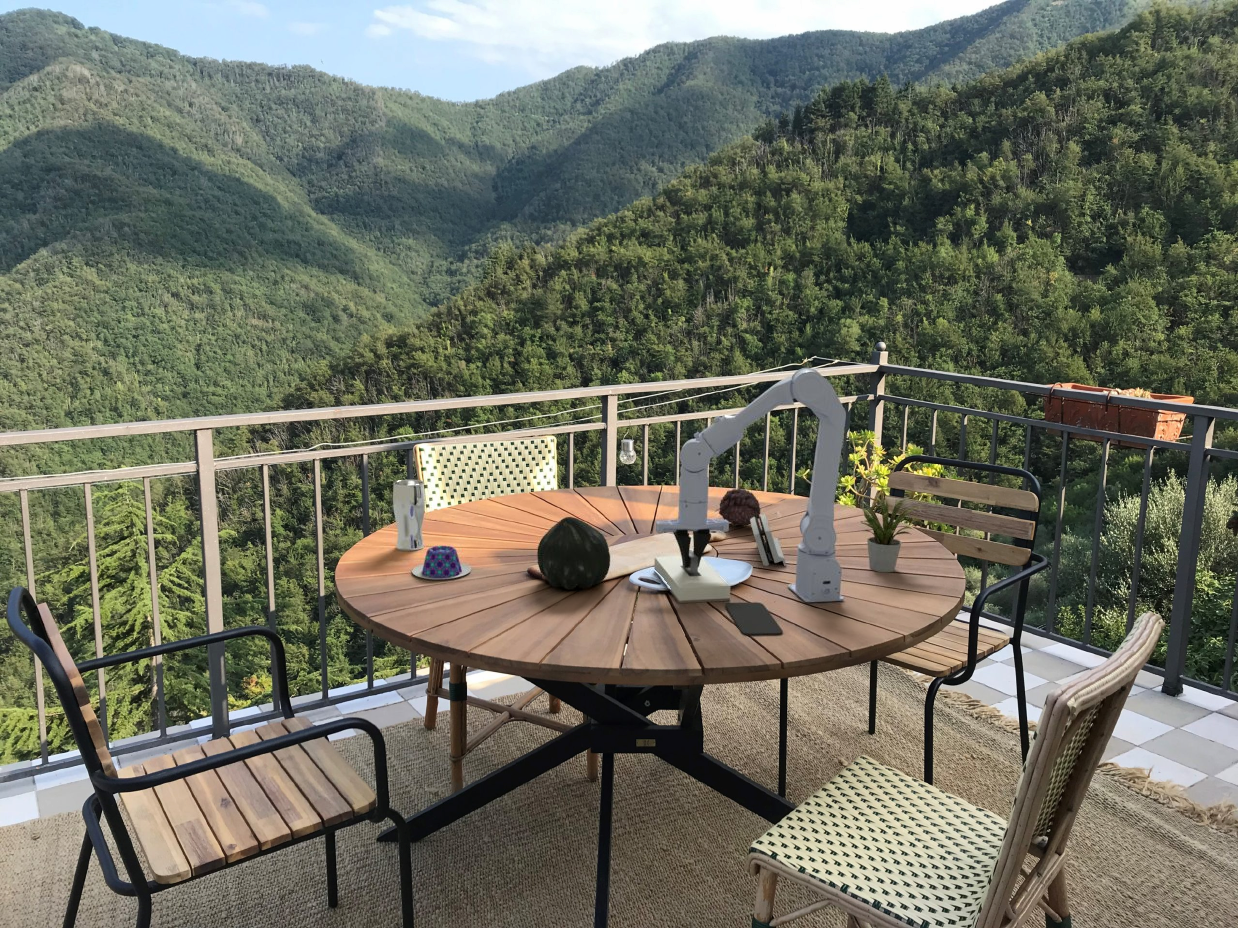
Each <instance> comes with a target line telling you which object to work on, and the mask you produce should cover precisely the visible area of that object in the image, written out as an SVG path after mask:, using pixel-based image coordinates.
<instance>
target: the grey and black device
mask: <svg viewBox="0 0 1238 928" xmlns="http://www.w3.org/2000/svg"><path fill="white" fill-rule="evenodd" d="M750 521H751V524H750V526H751V528H752V529H751V530H752V532H753V536H754V540H755V542H756V546H757V549H758V553H759V556H760V558H761V562H762V565H763V566H765V567H766V566H770V564H771V562H772V563H775V564H777V563H779V562H782V563H783V566H784V567H787V566H788V565H787V562H786V558H785V556H784V553H783V551H782V546H781V544H780V541H779V538H777V537H775V536H773V534H772V531H771V528H770V524H769V522H768V518H767V516H766V514H760V515H759V519H757V517H756V518H755V517H753V518H751V519H750Z"/></svg>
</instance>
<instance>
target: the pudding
mask: <svg viewBox="0 0 1238 928" xmlns="http://www.w3.org/2000/svg"><path fill="white" fill-rule="evenodd" d="M459 559H460V558H459V555H458V551H457V550H456V548H454V547H453V546H450V545H449V546H447V545H436V546H432V547H429V548H428V549H427V551H426V554H425V558H424V563H422V564H419V565H417V566H415V567H414V568H413V569H412V571H411V573H412V574H413V575H415V576H416V577H418V578H422V579H426V580H427V579H428V580H450V579H455V578H459V577H463V576H465V575H467V574H469V573H470V572H471V571H472V568H471V566H470V565H469V564H467V563H463V562H460V560H459Z"/></svg>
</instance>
